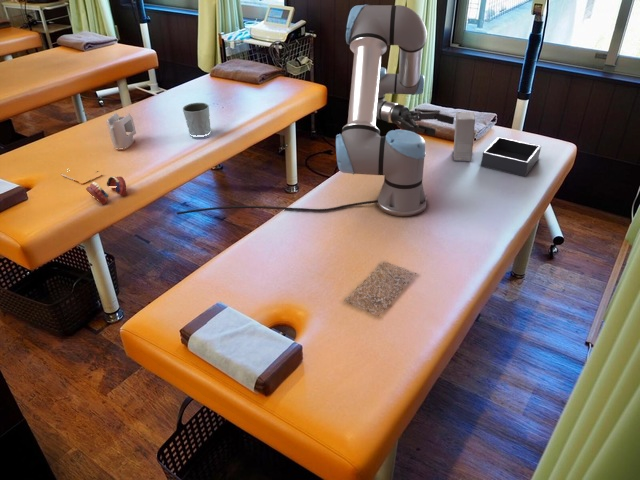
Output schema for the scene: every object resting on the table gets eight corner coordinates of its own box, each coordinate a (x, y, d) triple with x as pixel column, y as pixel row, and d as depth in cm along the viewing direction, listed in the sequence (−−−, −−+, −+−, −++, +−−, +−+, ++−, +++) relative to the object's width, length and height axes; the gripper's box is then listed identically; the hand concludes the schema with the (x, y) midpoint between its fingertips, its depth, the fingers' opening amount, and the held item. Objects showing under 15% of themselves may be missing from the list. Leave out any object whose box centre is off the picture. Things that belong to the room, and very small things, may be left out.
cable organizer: (139, 139, 216) (132, 111, 209) (124, 152, 206) (117, 123, 199) (124, 138, 217) (117, 110, 210) (108, 151, 207) (100, 122, 200)
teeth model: (126, 176, 175) (92, 190, 168) (131, 193, 179) (97, 207, 172) (114, 169, 180) (80, 182, 174) (119, 186, 184) (86, 199, 177)
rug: (343, 302, 130) (343, 299, 130) (383, 262, 143) (383, 259, 143) (378, 317, 126) (378, 314, 125) (416, 274, 139) (416, 271, 138)
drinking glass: (217, 133, 219) (213, 105, 212) (200, 142, 212) (196, 113, 205) (199, 128, 224) (195, 100, 217) (182, 137, 217) (177, 108, 210)
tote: (524, 176, 182) (528, 162, 179) (480, 166, 189) (482, 152, 186) (538, 159, 192) (541, 146, 189) (495, 150, 200) (498, 136, 196)
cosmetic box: (471, 162, 192) (477, 120, 183) (451, 160, 193) (456, 119, 184) (470, 152, 198) (476, 111, 190) (451, 150, 200) (456, 110, 191)
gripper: (412, 113, 216) (459, 125, 205) (376, 133, 201) (425, 147, 189) (413, 95, 212) (461, 106, 200) (377, 113, 197) (427, 127, 185)
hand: (444, 126), depth 195 cm, fingers open, 13 cm apart
